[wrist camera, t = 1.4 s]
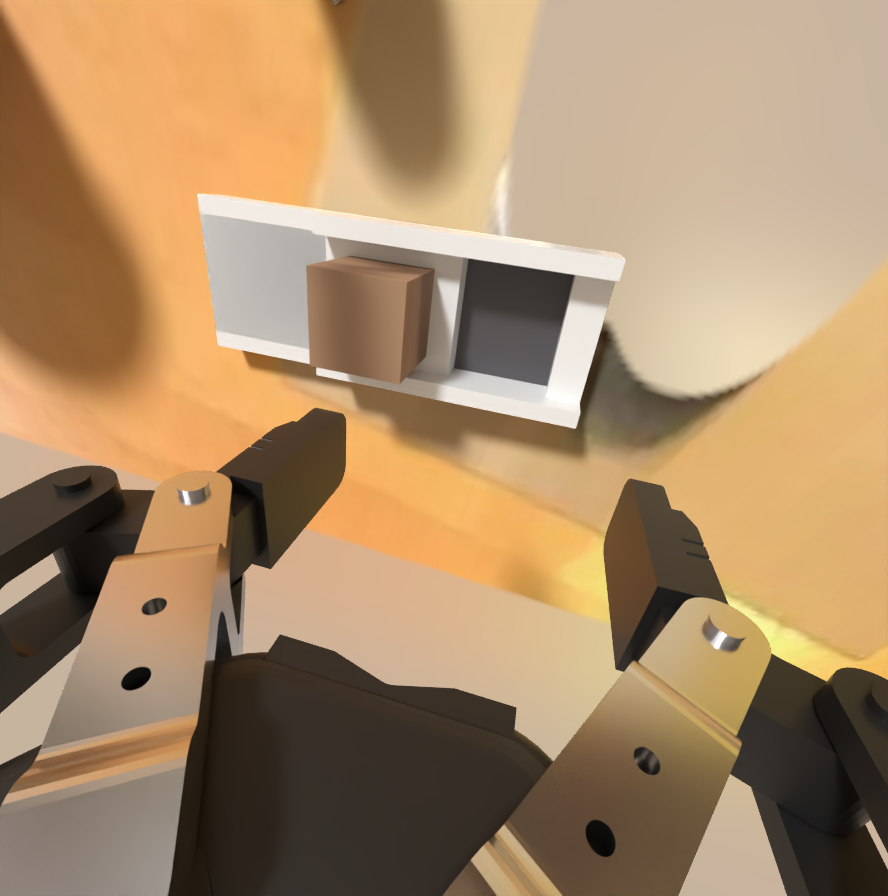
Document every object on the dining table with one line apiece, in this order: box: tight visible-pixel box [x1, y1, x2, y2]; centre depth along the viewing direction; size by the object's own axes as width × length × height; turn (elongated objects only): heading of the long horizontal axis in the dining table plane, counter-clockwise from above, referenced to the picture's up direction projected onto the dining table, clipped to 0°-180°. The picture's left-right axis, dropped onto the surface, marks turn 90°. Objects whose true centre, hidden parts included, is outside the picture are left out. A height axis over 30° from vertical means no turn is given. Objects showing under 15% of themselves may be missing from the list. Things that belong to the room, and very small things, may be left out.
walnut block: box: [306, 256, 435, 384], centre depth 24 cm, size 5×5×5 cm
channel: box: [197, 194, 626, 429], centre depth 26 cm, size 24×9×4 cm, turn 83°
